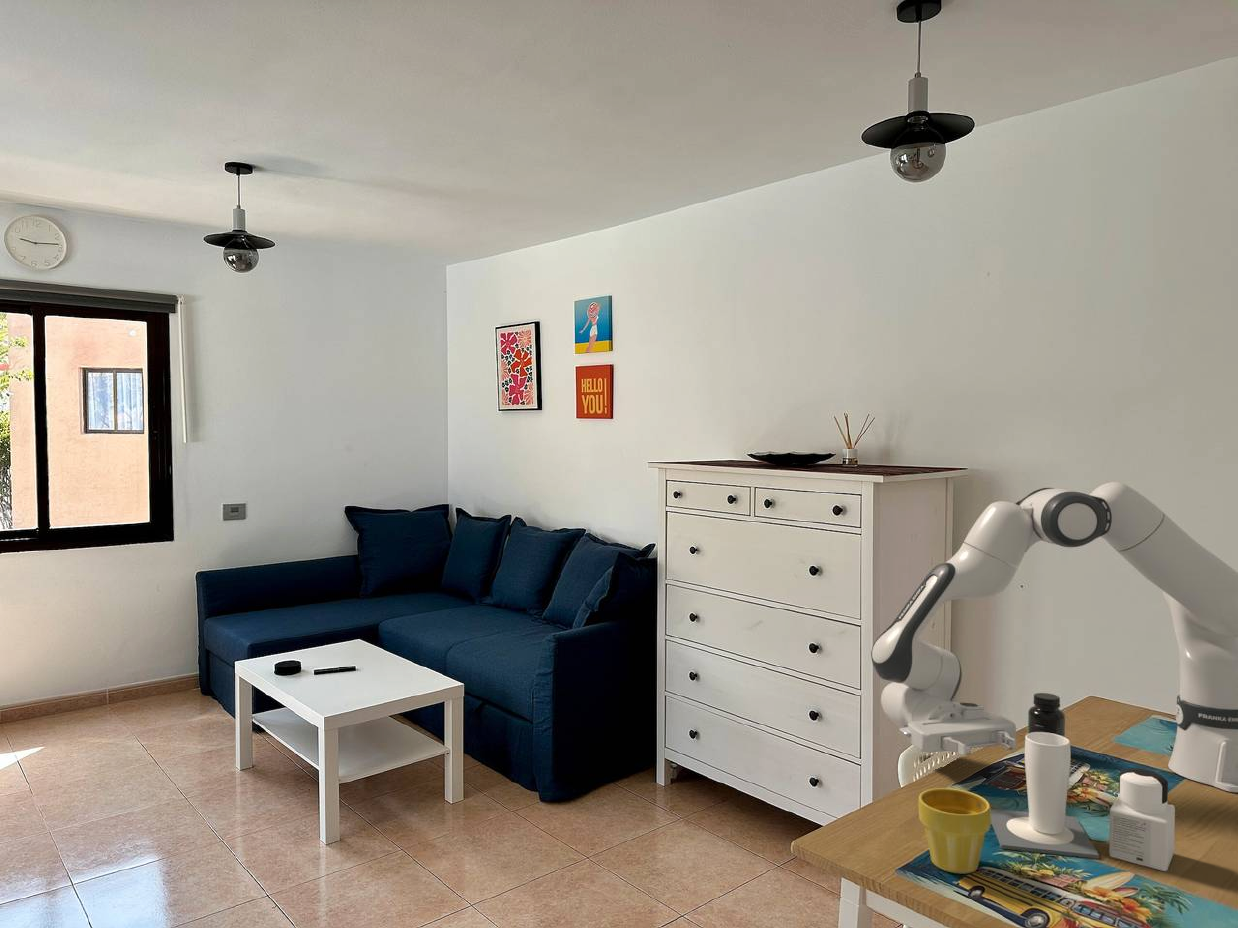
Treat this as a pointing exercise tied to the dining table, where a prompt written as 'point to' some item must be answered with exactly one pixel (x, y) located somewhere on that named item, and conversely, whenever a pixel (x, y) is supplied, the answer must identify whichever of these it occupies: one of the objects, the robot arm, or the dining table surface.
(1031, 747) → the drinking glass
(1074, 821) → the mat
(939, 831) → the plant pot
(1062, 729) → the supplement bottle
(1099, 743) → the dining table surface
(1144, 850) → the container
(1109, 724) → the dining table surface
